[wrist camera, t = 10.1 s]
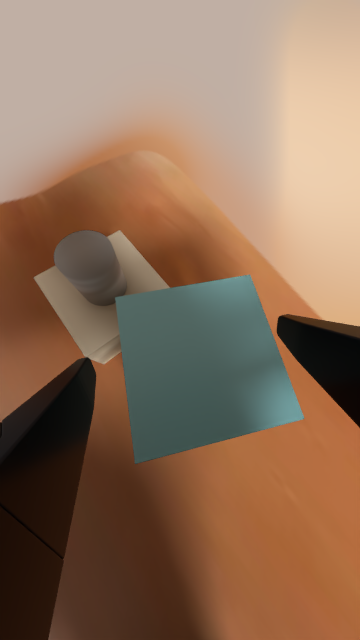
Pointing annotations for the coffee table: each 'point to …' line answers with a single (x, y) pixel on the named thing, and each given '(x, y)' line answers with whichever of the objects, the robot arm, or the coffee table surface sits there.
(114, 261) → the post pedestal
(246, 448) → the coffee table surface
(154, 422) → the teal square top
